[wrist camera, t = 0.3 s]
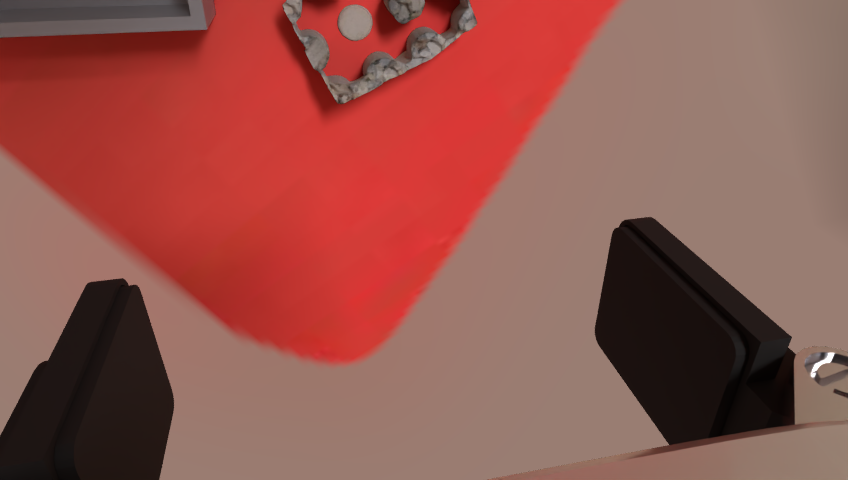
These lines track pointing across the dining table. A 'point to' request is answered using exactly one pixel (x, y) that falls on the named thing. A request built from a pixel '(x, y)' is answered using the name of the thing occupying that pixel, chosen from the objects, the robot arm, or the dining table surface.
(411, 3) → the egg carton
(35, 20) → the grey tote
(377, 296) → the dining table surface
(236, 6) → the dining table surface
